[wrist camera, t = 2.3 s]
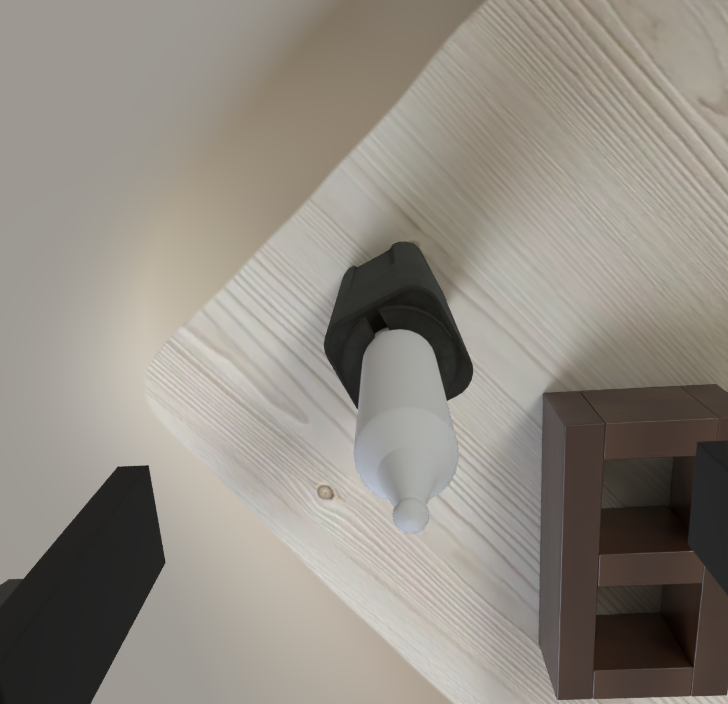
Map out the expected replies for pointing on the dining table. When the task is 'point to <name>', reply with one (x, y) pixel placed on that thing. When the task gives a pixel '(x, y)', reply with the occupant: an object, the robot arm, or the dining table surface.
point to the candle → (399, 378)
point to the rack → (627, 548)
